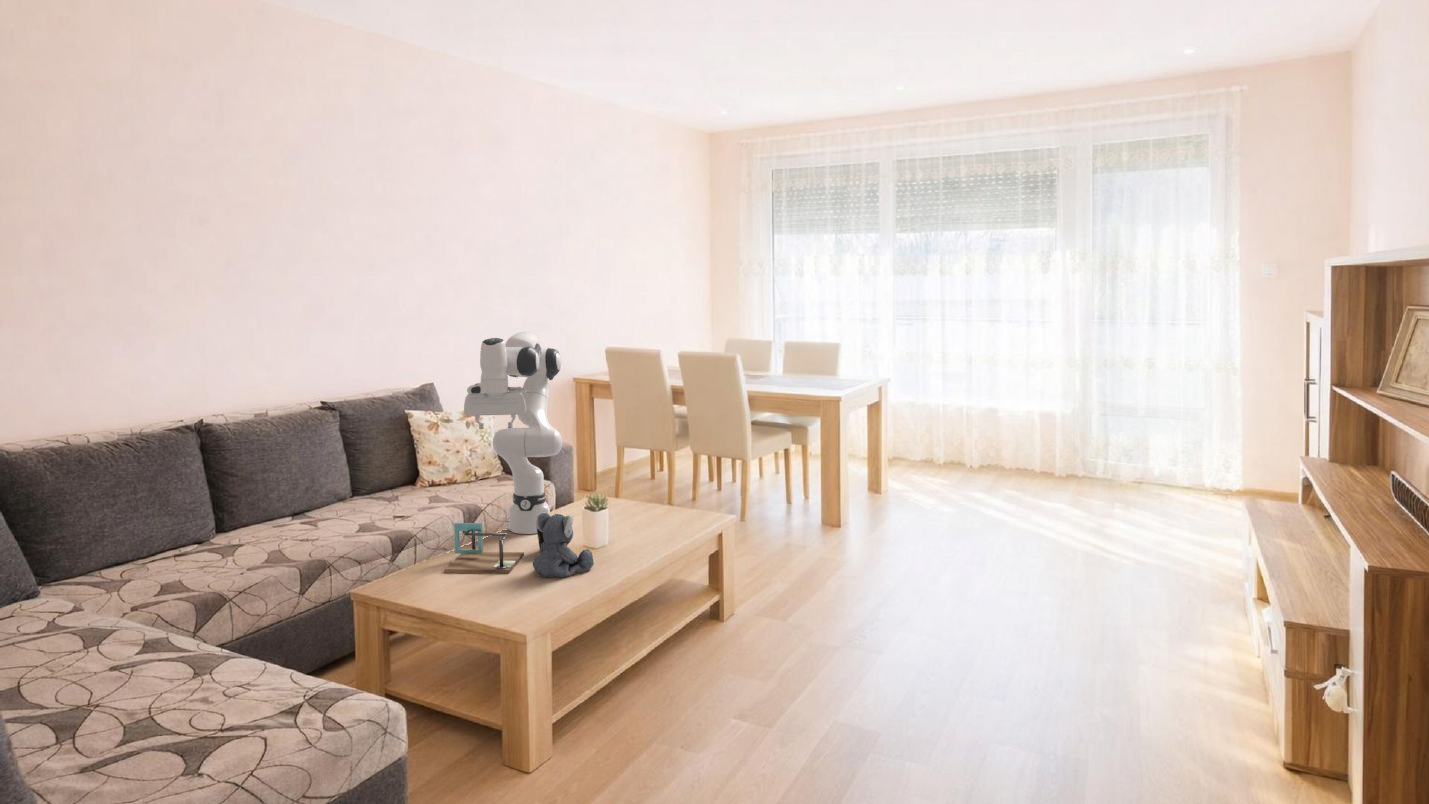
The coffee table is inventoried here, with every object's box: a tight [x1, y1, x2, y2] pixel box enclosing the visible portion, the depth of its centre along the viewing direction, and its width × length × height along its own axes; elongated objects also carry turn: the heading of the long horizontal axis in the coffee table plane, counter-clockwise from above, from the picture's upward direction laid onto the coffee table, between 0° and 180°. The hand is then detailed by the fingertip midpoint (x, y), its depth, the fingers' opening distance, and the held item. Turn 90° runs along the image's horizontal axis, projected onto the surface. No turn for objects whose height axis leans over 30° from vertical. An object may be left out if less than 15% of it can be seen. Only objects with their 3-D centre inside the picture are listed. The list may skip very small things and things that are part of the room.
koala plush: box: [532, 512, 595, 579], centre depth 276 cm, size 17×18×20 cm
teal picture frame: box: [453, 522, 484, 555], centre depth 287 cm, size 1×9×10 cm, turn 88°
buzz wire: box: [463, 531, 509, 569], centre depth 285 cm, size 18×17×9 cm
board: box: [444, 551, 525, 575], centre depth 285 cm, size 18×21×1 cm
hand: (495, 428), depth 288 cm, fingers open, 8 cm apart
